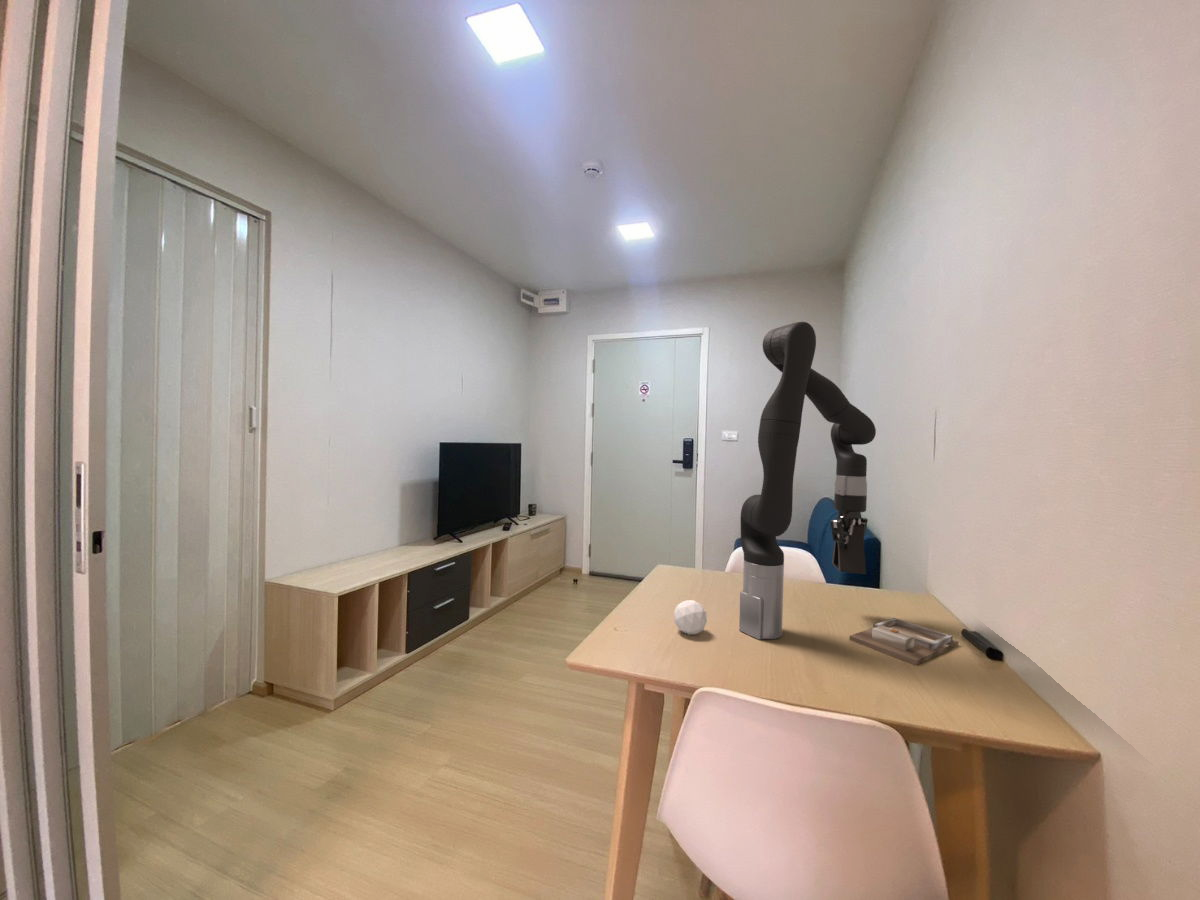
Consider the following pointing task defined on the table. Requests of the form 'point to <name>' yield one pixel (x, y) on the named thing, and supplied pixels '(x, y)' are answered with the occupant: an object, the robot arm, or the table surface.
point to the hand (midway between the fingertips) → (848, 556)
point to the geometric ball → (690, 617)
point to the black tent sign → (851, 553)
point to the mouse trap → (905, 640)
